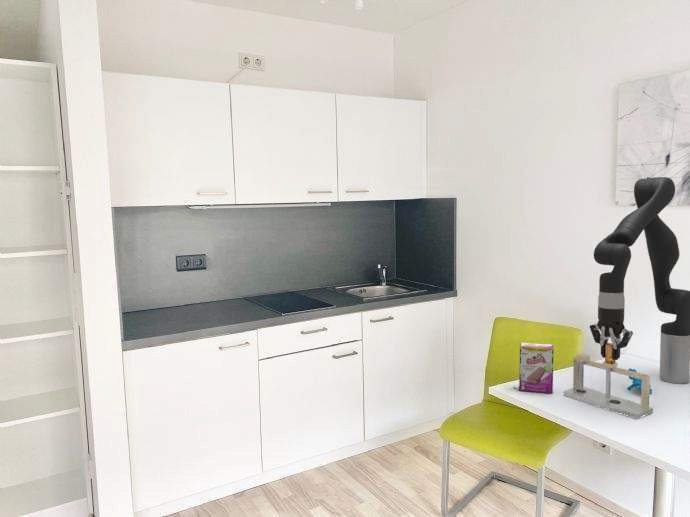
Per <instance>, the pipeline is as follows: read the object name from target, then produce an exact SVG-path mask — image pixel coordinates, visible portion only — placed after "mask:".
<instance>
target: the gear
mask: <svg viewBox="0 0 690 517" xmlns="http://www.w3.org/2000/svg"><path fill="white" fill-rule="evenodd" d="M627 370H629V371H633V372H637V370H636V369H635V368H628V369H627ZM637 373H641V372H637ZM627 377H628V379H629V380H631V384H630V385H629V386H628V387H627V388H626V390H628V391H630V390H632V389H634V388H637V389H638V391H642V380H641V379H637V378H634V377H630V376H627ZM652 392H653V389H652V388H651V384H650V395H651V394H653V393H652Z"/></svg>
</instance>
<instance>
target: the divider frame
mask: <svg viewBox="0 0 690 517" xmlns="http://www.w3.org/2000/svg"><path fill="white" fill-rule="evenodd" d="M590 357H591V355H590V354H589V355H588V354H584V353H578V354H576V356H575V357H573V363H572V364H573V366H572V367H573V368H572V369H573V372H572V373H573V375H572V376H573V377H572V378H573V380H572V381H573V384H572V388H569V389H565V390H563V396H565V397H567V396H568V398H570V397H571V398H570V399H573V398H574V399H573V400H576V399H577V400H576V401H579V400H581V401H580V402H582V401H584V402H583V403H585V402H586V404H588V403H590V404H589V405H591V404H593V405H592V406H594V405H596V406H595V407H597V406H600V407H603V408H606V409H609V410H612V411H615V412H618V413H622V414H625V415H628V416H631V417H634V418H636V419H637V418H639V417H641V416H643V415H646V414H648V415H650V414H649V413H651V414H653V413H654V407H651V406H650V395H651V394H650V388H651V387H650V385H651V375H649V374H646V373H641V372H640V373H639V372H633V371H629V370H628V369H626V368H625V369H624V368H620V367H618V366H617V367H614V368H611V373H615V374H619V375H623V376H627V377H628V376H630V377H634V378H637V379H641V380H642V390H641V396H640V398H641V399H640V400H641V401H640V403H638V402H635V401H631V400H628V399H625V398H621V397H619V396H616V395H612V394H610V399H607V398H606V392H603V391H599V390H596V389H592V388H589V387H586V386H584V379H585V378H584V374H585V373H584V370H585V369H584V367H585V366H588V367H593V368H595V369H596V368H597V369H599V370H600V369H601V370H604V371H606V367H605V366H603V362H602V363H601V362H598V361H595V360H590V359H591V358H590ZM600 407H599V408H600ZM603 408H602V409H603ZM606 409H605V410H606ZM609 410H608V411H609ZM612 411H611V412H612ZM615 412H614V413H615ZM652 412H653V413H652ZM618 413H617V414H618ZM646 416H647V415H646ZM641 418H642V417H641ZM636 419H635V420H636ZM639 419H640V418H639ZM637 420H638V419H637Z"/></svg>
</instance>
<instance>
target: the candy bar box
mask: <svg viewBox="0 0 690 517" xmlns="http://www.w3.org/2000/svg"><path fill="white" fill-rule="evenodd" d="M554 350H555V349H554V345H553V344H549V343H548V344H546V343H545V344H544V343H531V342H520V343H519V376H518V377H519V380H518V381H519V384H518V385H519V387H518V388H519V389H518V390H519V392H528V393H529V392H532V393H542V394H553V390H554V387H553V386H554Z"/></svg>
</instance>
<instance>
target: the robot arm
mask: <svg viewBox="0 0 690 517" xmlns="http://www.w3.org/2000/svg"><path fill="white" fill-rule="evenodd" d="M675 194H676V185H675V182H674V180H673V179H672V178H670V177H667V176H663V177H662V176H661V177H659V176H657V177H647V178H646V177H645V178H641V179H638V180H637V181H635V183H634V187H633V196H634V201H635V204H636V207H637V208H636V209H635V210H633V211H631V212H630V213H629V214H627V215H626V216H625V217H623V219H622V220H621V221H620V222H619V223H618V225H617V226H616V227H615V229H614V230H613V231H612V232H611V233H610V234H608V235H607V236H606V237H605V238H603V239H602V240H601V241H600V242H598V243H597V245H596V246H595V248H594V250H593V259H594V261H595V263H597V264H598V265H603V266H612V271H610V272H609V271H608V272H603V273H600V275H599V282H598V283H599V284H598V285H599V287H598V288H599V291H598V297H597V319H598V321H597V323H594V324H590V325H589V329H590V332H591V335H592V337H593V340H594V343H596V344H599V346H600V355H601V357H602V358H603V359H605V344H606V343H609V339H610V341H611V343H613V348H614V349H613V360H615V361H618V360H619V359H620V358H621V349H623V348H627V347H628V344H629V342H630V340H631V339H632V336H633V335H634V332H633V331H632V330H628V329H627V328H625V325H624V323H625V322H624V321H625V300H626V299H625V279H626V274H627V272H628V268H629V265H630V263H631V259H632V251H631V249H630V247H632V246H634V244H635V243H636V242H637V240H638V239H639V237H640V235H641V234H642V233H644V236H645V241H646V249H647V253H648V254H647V255H648V257H649V261H650V262H649V263H650V267H651V271H652V277H653V286H654V296H655V297H654V298H655V303H656V304H655V305H656V308H657V309H658V311H660V312H661V313H665V314H668V315H669V314H670V315H676V316H675V320H674V321H670V322H664V323H662V324H661V325H660V344H659V345H660V346H659V350H660V351H659V379H660V380H662V381H664V382H668V383H672V384H687V383H690V290H689V289H681V288H674V287H671V281H670V276H671V274H672V272H673V269H674V268H675V266H676V265H677V263H678V260H679V259H680V247H679V242H678V239H677V236H676V234H675V232H673V231H672V228H670V227H669V226H668V225H667V224H666V223H665V222H664V221H663V219H662V218H660V216H659V214H661V212H662V211H663V210H664V209H665V208H666V207H667V206H668V205H669V204H670V203H671V202H672V200H673V199H674V196H675ZM621 334H622V336H621Z"/></svg>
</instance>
